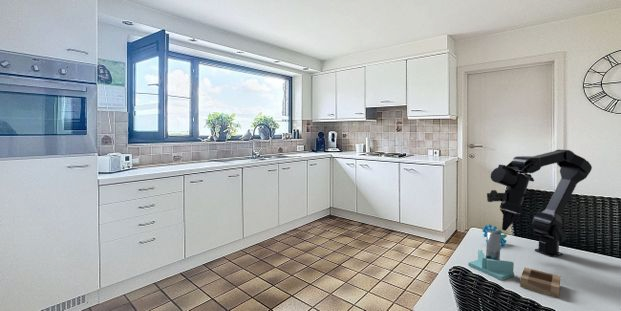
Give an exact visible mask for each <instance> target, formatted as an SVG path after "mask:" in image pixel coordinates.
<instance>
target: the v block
mask: <svg viewBox="0 0 621 311" xmlns="http://www.w3.org/2000/svg"><path fill="white" fill-rule="evenodd" d="M467 266H468V267H470V268H473V269H475V270H477V271H479V272H482V273H484V274H486V275H488V276H490V277H493V278H495V279H497V280H499V281H503V280H508V279H510V278H512V277H515V272H514V268H515V264H514V261H509V260H501V259H500V260H494V259H486V254H485V253H484V252H483V250H481V249H478V252H477V259H476V260H473V261H468V265H467Z"/></svg>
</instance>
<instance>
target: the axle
mask: <svg viewBox="0 0 621 311" xmlns="http://www.w3.org/2000/svg"><path fill="white" fill-rule="evenodd" d="M486 231H487V230H486ZM497 231H498V230H496V231H487V237H486V239H487V242H486V245H485V247H486V250H485V251H486V252H485V253H486V254H485V257H486V259H494V260H501V259H500V258H501V247H500V245H501V235H502V233H500V232H497Z"/></svg>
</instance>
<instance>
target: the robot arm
mask: <svg viewBox="0 0 621 311" xmlns="http://www.w3.org/2000/svg"><path fill="white" fill-rule="evenodd" d="M554 164H557V167H559V168H560V169H559V173H560V177H561V178H560V181H559V182H558V184H557V186H556V187H555V190H554V191H553V194H552V196H551V198H550V200H549V201H548V203H547V205H546V208H544V210H542V211H536V213H535V215H534V217H533V218H532V222H531V227H532V230H533V234H534V235H537V236H539V240H538V248H535V249H534V251H535V252H536V253H537V252H538V253H541V254H543V255H546V256H548V257H557V256H563V255H564V253H563V252H560V243H561V242H562V243H564V241H566V240H567V237H568V235H567V234H566V232H565V231H564V230H563V229H562V227H563V220H562V214H563V212H564V210H565V208H566V206H567V205H568V203H569V201H570V198H571V196H573V193H574V191H575V189H576V187H577V184H578V183H580V182H582V181H584V180H585V179H587V177H588V176H589V174H590V173H591V171H592V168H593V166H592V164H591V163H590V162H589V161H588V160H587V159H585V158H584V157H582V156H580V155H578V154H576V153H575V152H573V151H572V150H570V149H556V150H553V151H550V152H545V153H542V154H537V155H533V156H531V155H530V156H529V155H528V156H527V155H526V156H525V155H524V156H523V155H521V156H514V157H513V159H512V160H511V161H510V162H509V163H508V164H507V165H504V164H501V163H500V164H498V167H496V168H494V169H493V170H492V171H491V173H490V179H491V181H492V182H493V183H496V184H498V185H499V184H500V185H503V186H505V187H506V189H504V192H498V191H497V190H496V189H492V190H490V192H487V193H486V198H487V199H486V201H487V202H488V203H493V202H500V205H499V210H500V213H502V224H501V231H507V230H508V228H509V227H511V225H512V224H513V223H514V222H515V220H517V219H518V217H520V214H521V213H522V210H523V207H522V205H523V203H524V198H525V197H526V196H525V195H526V192H527V189H528V186H529V183H530V182H535V179H534V177H532V174H534V173H536V172H538V171H540V170H541V168H543V167H546V166H549V165H554Z"/></svg>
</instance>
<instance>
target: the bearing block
mask: <svg viewBox="0 0 621 311" xmlns="http://www.w3.org/2000/svg"><path fill="white" fill-rule="evenodd" d="M561 278H562V277H561V275H557V274H554V273H553V274H552V273H549V272H546V271H540V270H537V269H533V268H529V267H525V266H524V268H523V271H522V273H521V276H520V282H519V288H522V289H526V290H530V291H533V292H535V293H536V292H538V293H539V294H540V293H541V294H544V295H548V296H550V297H554V298H558V299H559V297H560V289H561V280H562V279H561Z"/></svg>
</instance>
